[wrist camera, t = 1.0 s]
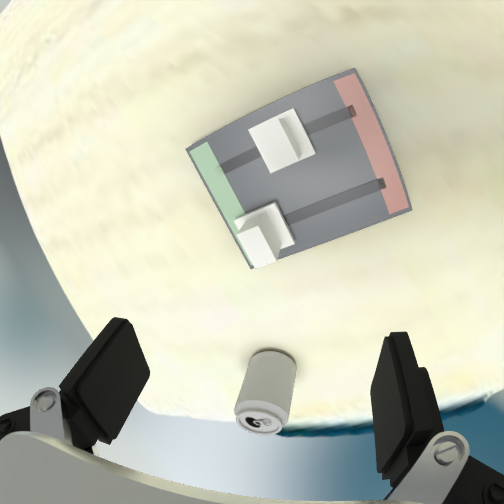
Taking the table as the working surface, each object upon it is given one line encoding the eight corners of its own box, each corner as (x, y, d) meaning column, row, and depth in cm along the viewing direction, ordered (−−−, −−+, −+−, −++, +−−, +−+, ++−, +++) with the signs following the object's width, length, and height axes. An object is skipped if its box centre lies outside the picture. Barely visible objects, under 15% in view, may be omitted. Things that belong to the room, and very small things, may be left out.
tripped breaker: (294, 108, 27) (289, 107, 23) (315, 152, 29) (315, 159, 25) (249, 129, 29) (237, 132, 25) (271, 171, 31) (263, 182, 27)
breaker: (275, 200, 32) (268, 215, 28) (295, 241, 34) (290, 261, 29) (235, 218, 34) (222, 234, 30) (255, 255, 36) (246, 276, 31)
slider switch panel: (352, 70, 26) (355, 67, 24) (408, 204, 31) (412, 210, 29) (192, 146, 34) (185, 149, 32) (254, 261, 39) (250, 269, 37)
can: (242, 352, 46) (220, 413, 36) (285, 342, 43) (271, 407, 33) (263, 382, 49) (247, 440, 38) (304, 373, 46) (295, 436, 35)
